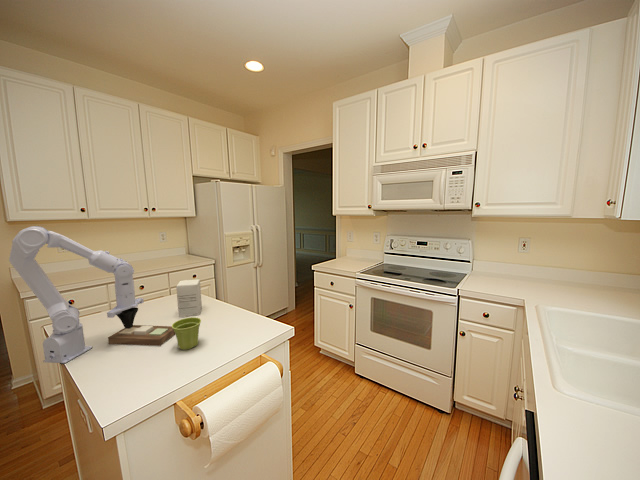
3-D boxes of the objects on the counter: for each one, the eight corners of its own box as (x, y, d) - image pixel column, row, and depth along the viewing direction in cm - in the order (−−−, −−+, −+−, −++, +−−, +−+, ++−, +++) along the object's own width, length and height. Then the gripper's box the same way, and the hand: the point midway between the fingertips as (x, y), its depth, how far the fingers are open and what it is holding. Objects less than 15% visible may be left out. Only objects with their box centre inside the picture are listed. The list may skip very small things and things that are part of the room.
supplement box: (182, 310, 125) (179, 280, 123) (202, 308, 128) (200, 278, 126) (178, 317, 116) (175, 285, 114) (199, 315, 119) (197, 284, 117)
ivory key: (145, 337, 96) (144, 331, 96) (134, 337, 96) (133, 331, 96) (153, 332, 100) (153, 326, 100) (143, 331, 101) (142, 325, 100)
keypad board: (160, 345, 93) (159, 339, 92) (108, 343, 94) (107, 337, 94) (177, 332, 103) (177, 326, 102) (130, 330, 104) (130, 324, 104)
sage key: (160, 340, 96) (160, 334, 95) (149, 340, 96) (149, 333, 96) (168, 334, 100) (168, 328, 100) (157, 334, 100) (157, 328, 100)
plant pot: (170, 354, 87) (168, 330, 86) (177, 340, 96) (175, 318, 95) (200, 350, 90) (198, 327, 89) (204, 337, 99) (203, 315, 98)
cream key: (130, 339, 97) (129, 333, 96) (119, 339, 97) (118, 332, 97) (139, 333, 101) (139, 327, 101) (129, 333, 101) (128, 327, 101)
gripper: (118, 300, 89) (122, 337, 91) (149, 287, 104) (152, 319, 105) (99, 300, 90) (104, 336, 92) (133, 287, 104) (136, 319, 106)
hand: (128, 327), depth 98 cm, fingers closed
